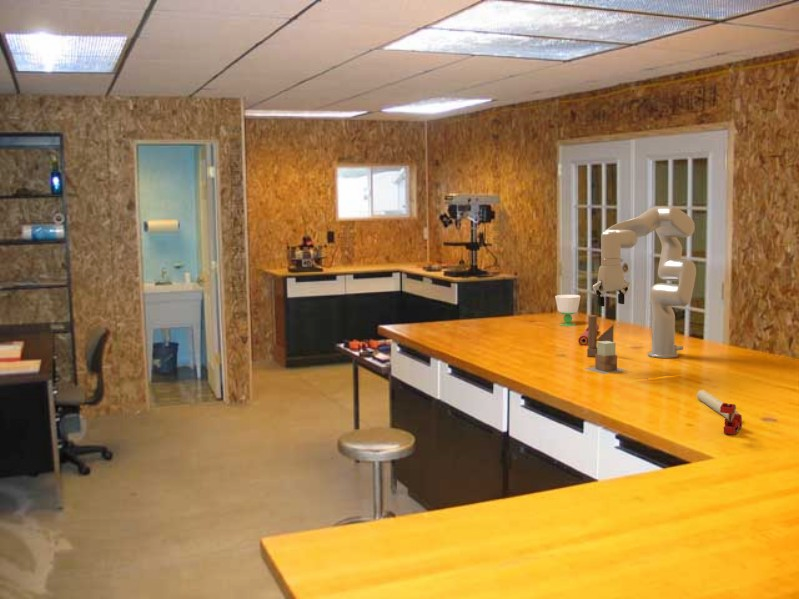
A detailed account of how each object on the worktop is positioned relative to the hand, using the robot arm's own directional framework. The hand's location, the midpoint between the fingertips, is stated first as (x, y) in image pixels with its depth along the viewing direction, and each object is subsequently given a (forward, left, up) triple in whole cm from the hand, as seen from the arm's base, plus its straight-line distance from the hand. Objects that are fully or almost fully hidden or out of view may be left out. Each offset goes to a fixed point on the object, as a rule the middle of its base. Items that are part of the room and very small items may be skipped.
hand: (611, 304), depth 333 cm
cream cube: (+5, +3, -19) cm, 20 cm away
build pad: (+5, +3, -26) cm, 27 cm away
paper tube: (+11, +70, -27) cm, 76 cm away
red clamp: (+26, +91, -26) cm, 98 cm away
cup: (-52, -108, -26) cm, 123 cm away
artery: (-36, -66, -27) cm, 80 cm away
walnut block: (+5, +3, -25) cm, 26 cm away
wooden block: (-12, -24, -26) cm, 38 cm away
